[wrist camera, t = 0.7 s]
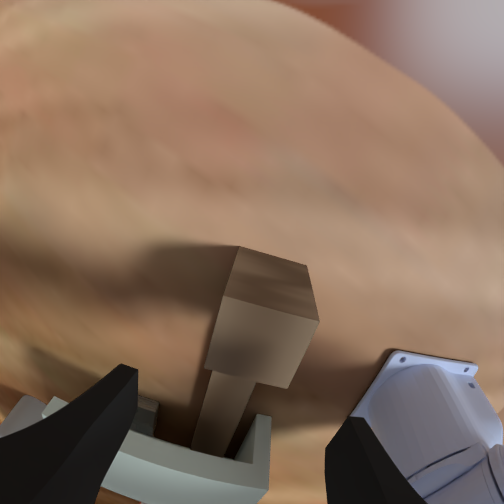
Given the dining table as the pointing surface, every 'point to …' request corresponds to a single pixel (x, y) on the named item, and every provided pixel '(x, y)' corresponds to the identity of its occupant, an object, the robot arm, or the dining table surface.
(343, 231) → the dining table surface
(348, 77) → the dining table surface
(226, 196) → the dining table surface
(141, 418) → the grey square block
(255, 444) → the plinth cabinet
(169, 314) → the dining table surface
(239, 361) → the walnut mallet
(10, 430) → the lumpy-topped squat cylinder
